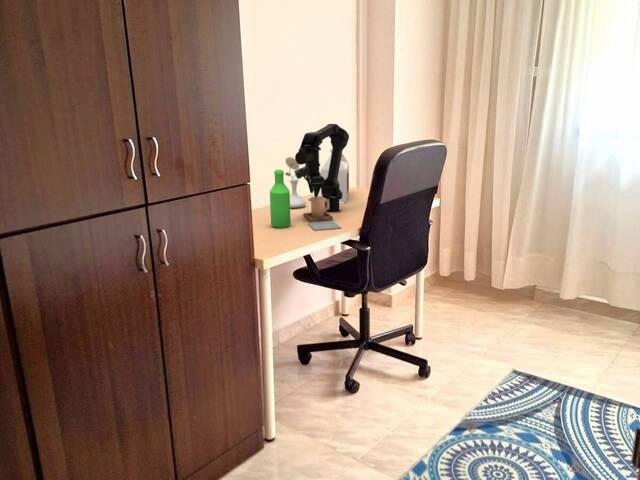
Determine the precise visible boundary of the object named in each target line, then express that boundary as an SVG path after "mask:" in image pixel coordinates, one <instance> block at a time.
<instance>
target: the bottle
mask: <svg viewBox="0 0 640 480" xmlns="http://www.w3.org/2000/svg"><path fill="white" fill-rule="evenodd" d="M273 175H274V184H273V185H272V187H271V189H270V190H269V206H270V210H269V211H270V225H271V226H272V227H273V228H275V229H277V228H278V229H283V228H288V227H290V225H291V222H292V221H291V207H290V196H291V192H290V190H289V188H288V186H287V185H286V184H285V182H284V175H285V171H284V170H283V169H275V170H274V172H273Z"/></svg>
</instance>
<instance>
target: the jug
mask: <svg viewBox="0 0 640 480" xmlns="http://www.w3.org/2000/svg"><path fill="white" fill-rule="evenodd" d="M308 202H310V208H311V209H310V211H311V212H310V213H311V218H316V217H325V216H324V211H326V210H330V207H329V199H324V197H321V195H320V196H319V195H318V196H317V197H315V196H311V197H310V198H308ZM324 202H327V207H324Z"/></svg>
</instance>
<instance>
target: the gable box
mask: <svg viewBox="0 0 640 480" xmlns="http://www.w3.org/2000/svg"><path fill="white" fill-rule="evenodd" d="M332 149H333V147H332V146H331V149H330V150H329V151H330V155H329V156H328V157H327V159H326V161H325V163H324V164H323V165H322V167H321V169H320V174H321V176H322V177H323V178H324V180H325V179H326V178H327V177H328V171H329V166H330V160H331V155H332ZM338 182H339V185H340V187H339V189H340V190H341V192H342V194H343V195H342V198H341V199H339V202H346V203H347V202H348V199H349V196H348V195H350V163H349V162H348V160H347V158H346V157H345V156H344V154H343V153H342V156H341V162H340V167H339V173H338ZM320 196H321V197H322V193H321V192H320ZM347 198H348V199H347ZM324 199H325V198H324Z"/></svg>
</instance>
